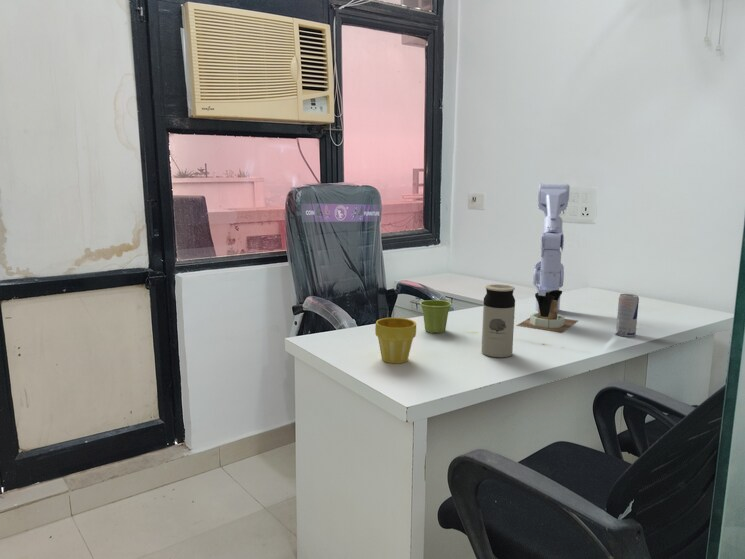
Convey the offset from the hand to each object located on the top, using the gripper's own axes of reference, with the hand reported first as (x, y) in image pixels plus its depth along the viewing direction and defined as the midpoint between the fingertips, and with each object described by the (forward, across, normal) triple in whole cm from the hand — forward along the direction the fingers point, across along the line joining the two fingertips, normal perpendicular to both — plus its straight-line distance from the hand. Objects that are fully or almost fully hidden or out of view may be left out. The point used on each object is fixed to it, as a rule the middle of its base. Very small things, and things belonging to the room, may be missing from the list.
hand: (547, 314), depth 172 cm
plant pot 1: (+4, +55, -21) cm, 59 cm away
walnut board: (+4, -1, 0) cm, 4 cm away
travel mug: (+4, +35, -2) cm, 35 cm away
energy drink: (+4, -5, +22) cm, 23 cm away
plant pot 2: (+4, +25, -26) cm, 36 cm away
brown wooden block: (+1, 0, 0) cm, 1 cm away
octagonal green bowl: (+3, 0, 0) cm, 3 cm away
